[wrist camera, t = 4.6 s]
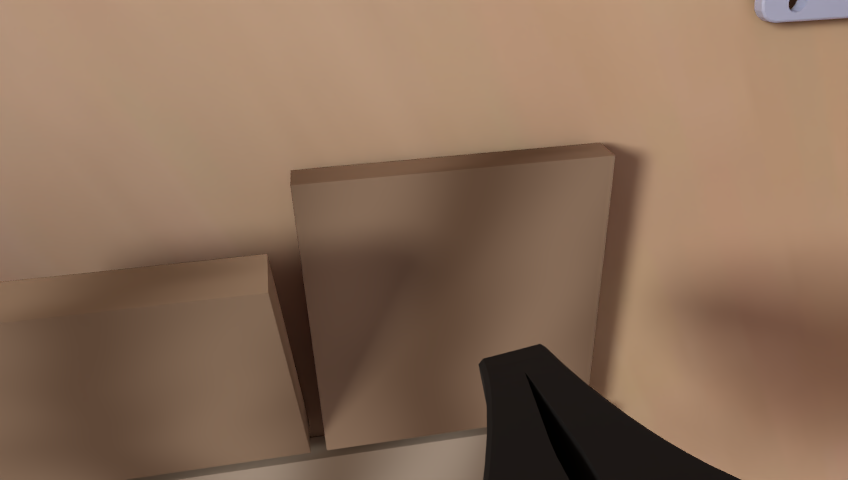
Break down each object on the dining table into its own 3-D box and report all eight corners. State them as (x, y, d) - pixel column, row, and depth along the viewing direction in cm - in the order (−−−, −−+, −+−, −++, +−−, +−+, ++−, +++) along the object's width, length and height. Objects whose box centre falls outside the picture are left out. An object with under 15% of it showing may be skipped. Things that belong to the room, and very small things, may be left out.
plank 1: (267, 254, 14) (268, 292, 13) (308, 422, 21) (310, 452, 20) (-174, 300, 13) (-194, 344, 12) (26, 461, 20) (19, 495, 19)
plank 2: (600, 142, 18) (615, 155, 17) (575, 392, 23) (586, 412, 22) (290, 170, 17) (290, 185, 16) (325, 427, 21) (327, 450, 21)
